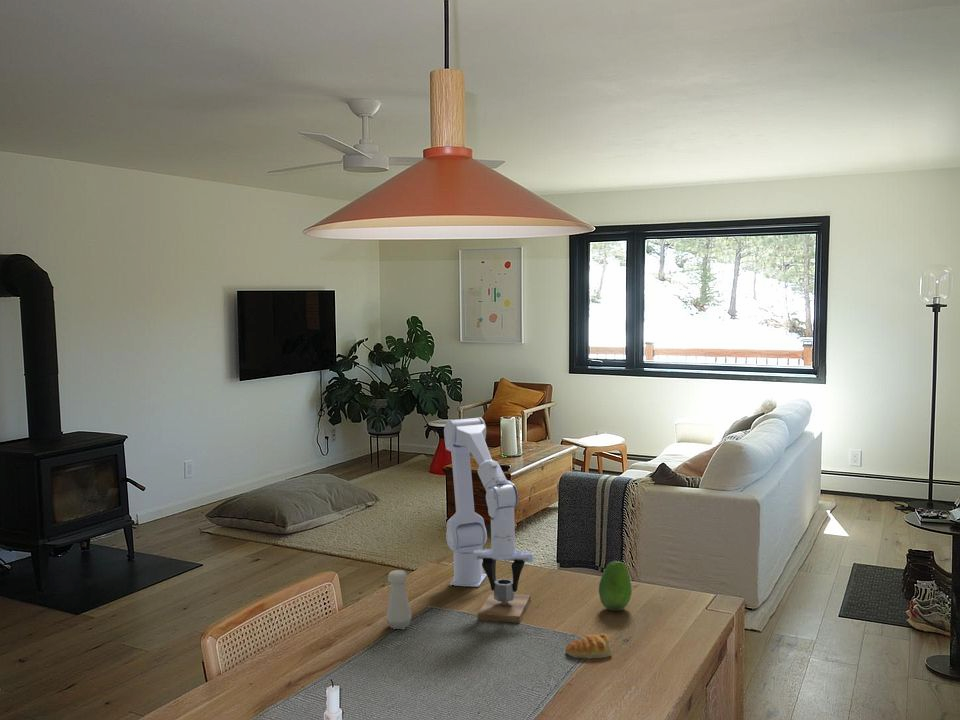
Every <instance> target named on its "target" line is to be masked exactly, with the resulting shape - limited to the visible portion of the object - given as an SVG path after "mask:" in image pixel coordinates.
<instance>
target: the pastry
mask: <svg viewBox="0 0 960 720" xmlns="http://www.w3.org/2000/svg"><path fill="white" fill-rule="evenodd" d="M565 653H566V654H567V655H568V656H570V657H572V658H575V659H579V658H580V659H587V660H591V659H599V658H600V659H601V658H608V657H611V655H612V654H613V648H612V644H611V643H610V639H609V636H608V635H607V634H606V633H603V632H602V633H600V634H586V635H584V636H583V637H581V638H578V639H574V640H572V641H571V642H568V643H567V645H566V648H565Z"/></svg>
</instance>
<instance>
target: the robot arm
mask: <svg viewBox="0 0 960 720" xmlns="http://www.w3.org/2000/svg"><path fill="white" fill-rule="evenodd" d="M443 436H444V444H445V450H446V451H449V452H450V454H451V455H450V456H451V464H452V466H451V467H452V468H451V469H452V477H453V478H452V479H453V489H454V501H455V502H454V503H455V513H454V514H453V515H452V516H451V517H450V518H449V519H448V520H447V521H446V533H445V537H446V538H445V540H446V544H447V546H448V548H449V549H450V550H451V551H453V579H452V580H451V581H450V583H449V586H452V585H454V587H468V588H469V587H471V588H472V587H473V588H479V587H480V586H481V584H483V581H484V580H485V578H487V579H488V582H489V585H490V589H491V591H493V592H494V582H495V580H497V577H496V576H497V575H496V567H497V566H496V565H497V561H507V562H509V561H511V562H512V563H511V573H512V580H513V592H514V593H516V592H517V591H518V586H519V580H520V577H521V573H522V571H523V568H524V565H525V563H526V562H528V563H531V564H532V563H534V561H535V552H530V551H524V550H518V549H516V532H515V531H516V529H515V526H516V525H515V523H516V522H515V508H516V507H517V506H518V504H519V491H518V489H517V487H516V485H515V484H514V482H511V480H508V479H507V477H506V476H505V474H504V471H503V470H502V467H501V466H500V464H499V462H498V461H496V460H493V458H492V456H491V453H490V450H489V447H488V445H487V443H486V438H487V426H486V423H485V420H484V419H483V418H482V417H480V416H477V417H473V418H470V417H469V418H460V419H448V420H447V421H446V422H445V425H444V428H443ZM470 454H471V455H472V456H473V459H474V460H475V462H476V463H477V465H478V469H477V474H478V476H479V477H478V478H479V479H480V481H481V484H482V486H483V488H484V489H485V492H486V493H485V501H486V506H487V512H488V516H489V517H490V539H491V540H490V542H491V545H490V547H491V548H490V549H484V548H483V546H485V545H486V543H487V540H488V533H487V532H488V531H487V528H486V525H485V520H484V518H483V516H481V515H480V514H478V513H477V512H475V501H474V500H475V499H474V488H473V478H472V477H473V476H472V465H471V455H470ZM484 572H485V573H484Z"/></svg>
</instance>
